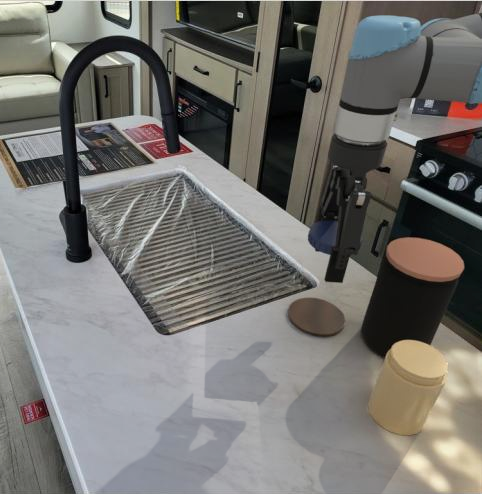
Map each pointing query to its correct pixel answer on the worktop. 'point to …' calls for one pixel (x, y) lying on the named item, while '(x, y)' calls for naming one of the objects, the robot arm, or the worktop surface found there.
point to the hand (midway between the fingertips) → (327, 265)
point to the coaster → (316, 317)
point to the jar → (408, 387)
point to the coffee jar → (410, 293)
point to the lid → (324, 236)
